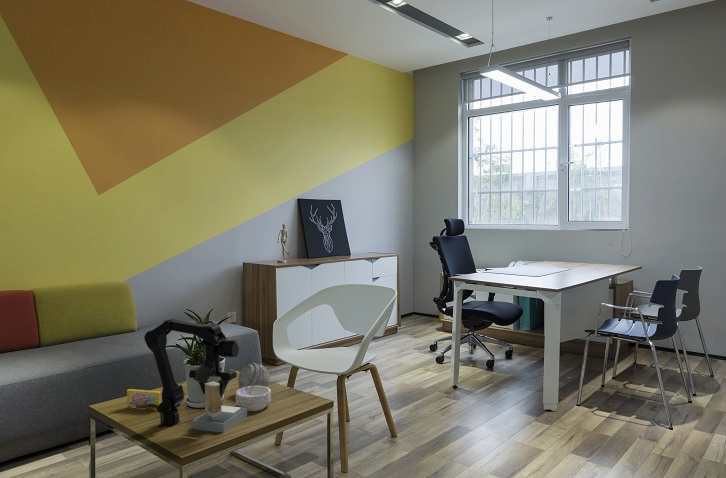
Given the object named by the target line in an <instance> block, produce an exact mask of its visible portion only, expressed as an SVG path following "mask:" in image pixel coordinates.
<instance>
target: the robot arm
mask: <svg viewBox="0 0 726 478" xmlns="http://www.w3.org/2000/svg"><path fill="white" fill-rule="evenodd" d="M172 331H173V332H179V333H185V334H190V335H194V336H195V337H198V338H199V339H202V340H201V342H200V343H199V344H198V345H199V346H202V347H203V346H204V359H202V363H201V366H197V367H195V368H192V369H190V370H189V372H188V378H191V379H193V380H194V381H196V382H197V383H198V384H199V386H200V389H201V390H202V394H203V395H204V396H205V383H208V381H209V378H210V377H219V378H220V379H219V380H218V381H217V383H219V384H220V396H221V397H223V395H224V393H225V391H226V389H227V386H228V384H229V382H230V381H232V380H234V379H235V378H237V373H238V372H237V371H236V370H234V369H226V370H225V371H223V370H222V369H223V368H222V367H221V361H222V359H223V358H237V356H238V355H239V353H240V347H239V345H238V343H237V340H236V339H228V338H227V337H226V335H225V334H224V332H223V331H222V328H221V326H220V325H219V324H218V323H203V324H201V323H193V322H188V321H184V320H179V319H175V318H170V319H166V320H165V321H163V322H162V323H161V324H160V325H157V327H155V328H153V329H150V330H149V331H146V332H145V335H144V337H143V339H144V342H145V344H146V346H147V347H148V349H149V350H150V352H152V353H153V356H154V359H155V364H156V367H157V371H158V374H159V379H160V381H161V384H162V391H161V403H160V404H159V406H158V407H157V410H156V411H157V413H160V414H159V416H160V417H159V419H160V423H159V424H158V425H157V427H161V428H163V427H170V428H171V427H173V426H176V425H177V424H179V423H180V422H181V420H180V413H179V407H181V404H182V402H183V401H184V399H185V395H186V393H185V392H184V388H183V384H180V385H178V383H177V382H176V379H175V377H174V373H173V370H172V366H171V363H170V360H169V356H168V353H167V352H168V351H167V348H166V347H167V344H168V339H167V335H169V334H170V333H171V332H172Z"/></svg>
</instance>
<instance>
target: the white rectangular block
mask: <svg viewBox="0 0 726 478" xmlns="http://www.w3.org/2000/svg"><path fill="white" fill-rule="evenodd" d="M240 411H241V407H240V406H229V405H222V414H221V415H218V416H214V417H212V420H217V421H227V420H228V419H230V418H231V417H233V416H234V415H236V414H237V413H239V412H240Z"/></svg>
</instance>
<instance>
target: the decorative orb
mask: <svg viewBox="0 0 726 478" xmlns="http://www.w3.org/2000/svg"><path fill="white" fill-rule="evenodd" d="M238 375H239V376H238V379H237V384H238V388H239V389H241V388H244V387H248V386H265V387H269V385H270V373H269V371H268V369H267V368H266V367H265V366H264V365H262V364H260V363H256V362H250V363H248V364H247V365H245V366H244V367H243V368H242V369H241V371H240V373H239V374H238Z"/></svg>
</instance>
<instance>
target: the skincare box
mask: <svg viewBox="0 0 726 478" xmlns="http://www.w3.org/2000/svg"><path fill="white" fill-rule="evenodd" d="M222 406H223V405H222V396H220V384H219V382H216V381H214V380H213V381H211V382H207V383H205V395H204V413H206V414H207V415H209V416H211V417H214V416H218V415H221V414H222Z"/></svg>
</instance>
